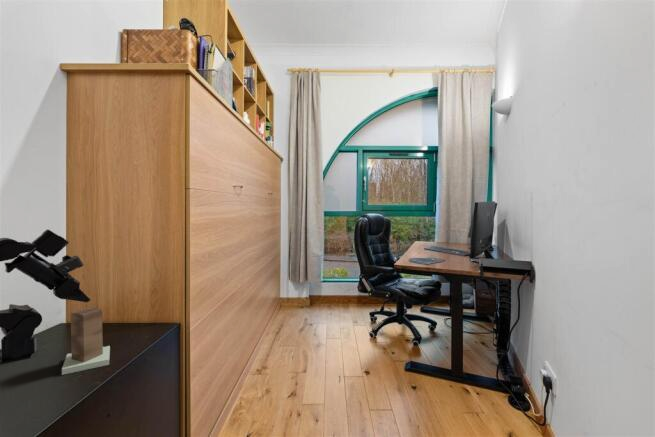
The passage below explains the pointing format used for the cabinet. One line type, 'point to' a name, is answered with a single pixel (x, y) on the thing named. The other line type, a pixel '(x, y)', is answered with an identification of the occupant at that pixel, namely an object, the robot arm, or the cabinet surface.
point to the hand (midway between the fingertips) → (85, 298)
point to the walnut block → (86, 334)
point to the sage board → (76, 366)
